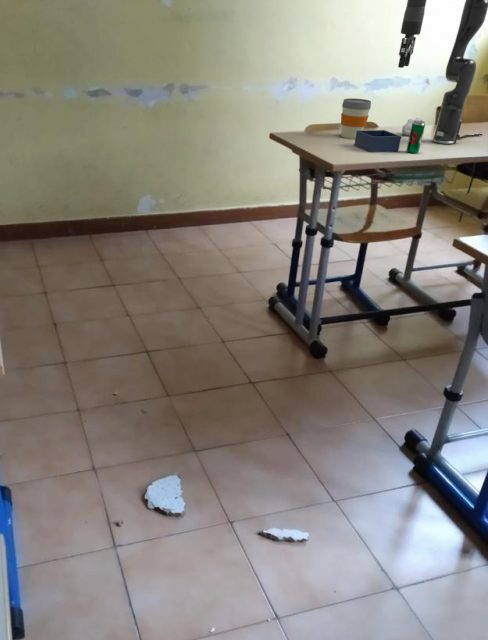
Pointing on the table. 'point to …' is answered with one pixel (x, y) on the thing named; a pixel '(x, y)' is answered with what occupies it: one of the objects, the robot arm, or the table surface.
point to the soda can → (415, 136)
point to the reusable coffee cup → (354, 116)
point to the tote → (377, 141)
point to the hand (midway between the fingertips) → (403, 66)
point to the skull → (408, 126)
